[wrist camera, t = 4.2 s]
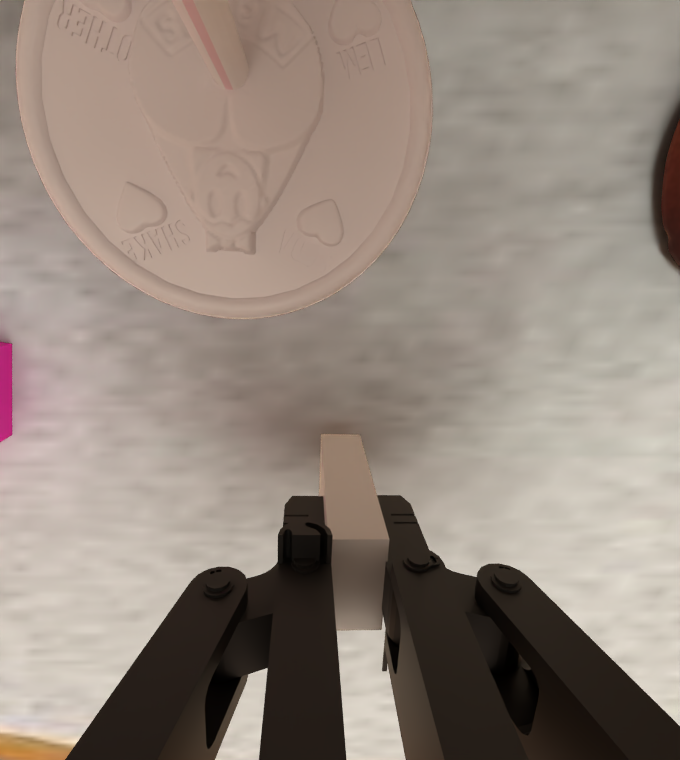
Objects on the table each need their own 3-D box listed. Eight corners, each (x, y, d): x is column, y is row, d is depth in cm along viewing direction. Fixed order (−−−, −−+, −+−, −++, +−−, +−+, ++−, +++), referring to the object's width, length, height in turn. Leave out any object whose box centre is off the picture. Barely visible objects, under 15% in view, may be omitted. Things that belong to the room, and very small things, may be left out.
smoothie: (370, 104, 15) (789, -912, 2) (357, 291, 17) (536, 420, 4) (181, 86, 15) (-963, -1437, 1) (187, 281, 17) (-323, 391, 3)
